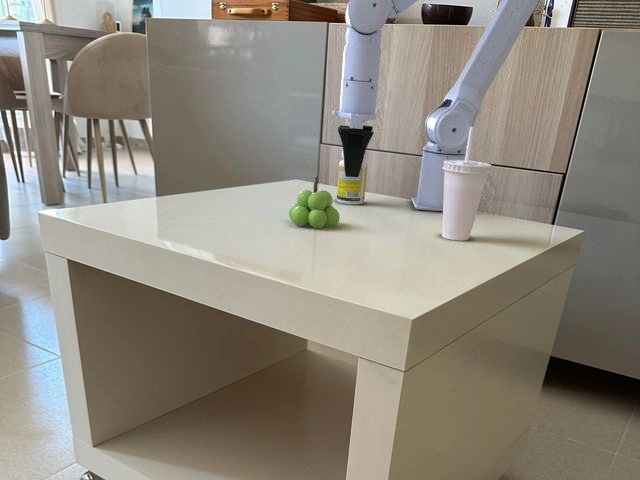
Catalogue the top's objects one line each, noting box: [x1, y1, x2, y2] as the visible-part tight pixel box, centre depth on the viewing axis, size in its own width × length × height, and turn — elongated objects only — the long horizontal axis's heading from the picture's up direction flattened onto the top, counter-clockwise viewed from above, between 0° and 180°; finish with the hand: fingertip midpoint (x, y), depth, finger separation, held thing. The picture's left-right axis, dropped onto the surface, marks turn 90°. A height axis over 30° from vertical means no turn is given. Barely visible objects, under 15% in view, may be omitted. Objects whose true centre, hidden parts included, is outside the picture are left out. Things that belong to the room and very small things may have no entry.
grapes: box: [288, 175, 341, 229], centre depth 87 cm, size 7×7×6 cm
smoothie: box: [441, 126, 493, 242], centre depth 84 cm, size 6×6×14 cm
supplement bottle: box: [336, 147, 368, 205], centre depth 105 cm, size 5×5×8 cm
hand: (352, 173), depth 105 cm, fingers open, 7 cm apart
